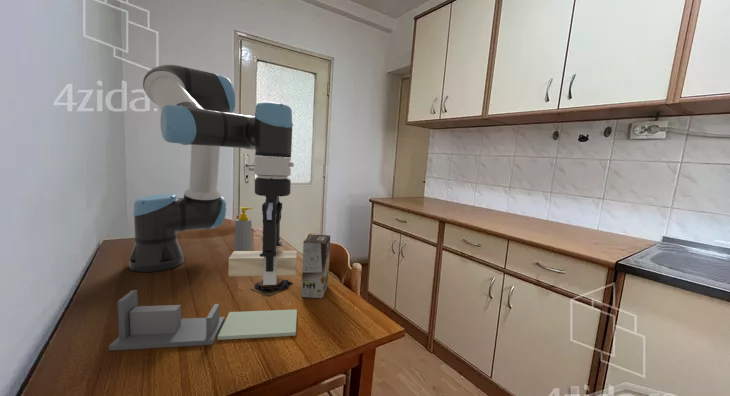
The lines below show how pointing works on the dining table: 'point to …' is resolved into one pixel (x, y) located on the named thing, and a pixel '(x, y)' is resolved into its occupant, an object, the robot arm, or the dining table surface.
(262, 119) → the robot arm
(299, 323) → the dining table surface
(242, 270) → the maple bar
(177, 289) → the dining table surface
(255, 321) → the sage mat
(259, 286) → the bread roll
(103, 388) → the dining table surface
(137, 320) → the cradle
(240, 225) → the soap bottle
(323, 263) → the coffee box
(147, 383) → the dining table surface
